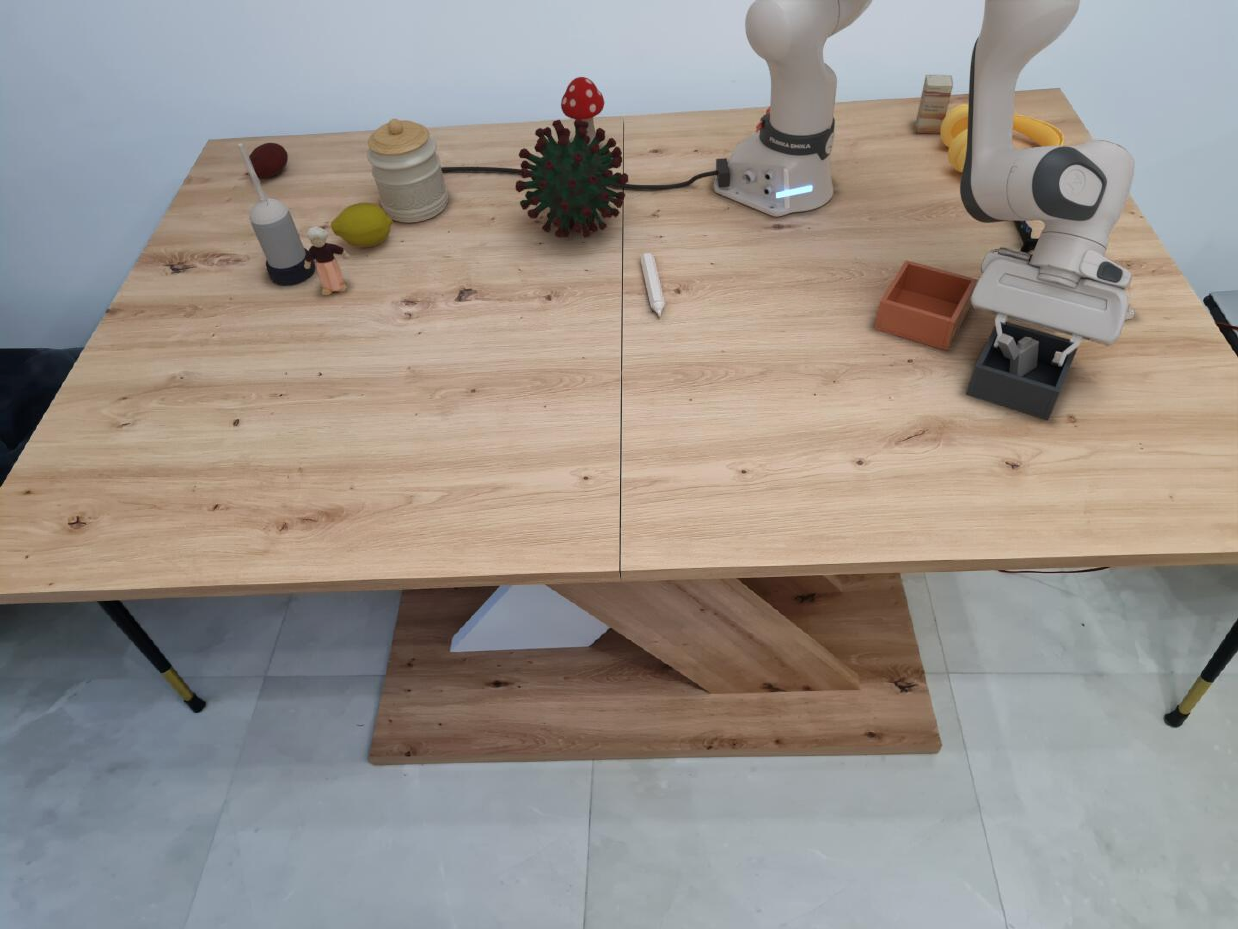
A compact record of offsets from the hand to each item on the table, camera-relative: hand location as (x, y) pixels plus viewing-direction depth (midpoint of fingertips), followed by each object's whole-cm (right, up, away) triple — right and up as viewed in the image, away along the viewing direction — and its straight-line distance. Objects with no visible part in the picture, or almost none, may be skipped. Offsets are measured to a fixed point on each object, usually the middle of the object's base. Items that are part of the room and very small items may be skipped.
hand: (1027, 356), depth 129 cm
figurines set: (+21, +11, +15) cm, 28 cm away
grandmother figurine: (-108, +16, +31) cm, 114 cm away
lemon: (-105, +26, +40) cm, 115 cm away
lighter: (0, -2, +4) cm, 5 cm away
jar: (-98, +35, +47) cm, 114 cm away
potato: (-131, +45, +59) cm, 150 cm away
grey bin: (+1, -3, +4) cm, 6 cm away
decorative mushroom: (-65, +49, +56) cm, 99 cm away
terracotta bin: (-10, +8, +15) cm, 20 cm away
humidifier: (-118, +20, +35) cm, 124 cm away
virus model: (-66, +28, +38) cm, 81 cm away
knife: (+11, +21, +25) cm, 35 cm away
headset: (+14, +43, +44) cm, 63 cm away
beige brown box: (+4, +52, +53) cm, 74 cm away
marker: (-52, +14, +25) cm, 59 cm away
